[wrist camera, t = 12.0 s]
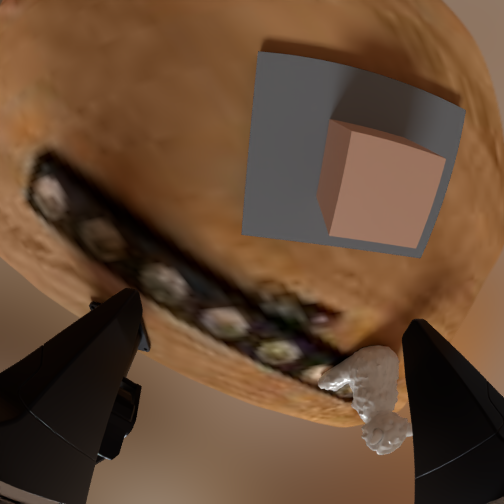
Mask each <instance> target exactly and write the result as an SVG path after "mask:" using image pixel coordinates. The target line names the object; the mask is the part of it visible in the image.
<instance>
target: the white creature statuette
mask: <svg viewBox="0 0 504 504" xmlns="http://www.w3.org/2000/svg"><path fill="white" fill-rule="evenodd" d="M398 370H399V360H398V357H397V355H396V353H395V352H394V351H393V350H391V349H390V347H386V346H381V345H376V346H368V347H364V348H361V349H360V350H359V351H357V352H354V354H353V355H352V356H350V357H348V358H346V359H345V360H344V361H342V362H341V363H339V364H338V365H336V366H335V367H333V368H331V369H330V370H328V371H326V372H325V373H323V375H322V376H321V377H320V378H319V380H318V386H319V387H320V388H321V389H324V388H325V389H326V390H333V391H337V390H338V389H339V388H341V387H343V386H344V385H345V384H347V383H349V385H350V387H351V389H352V391H353V394H354V395H353V398H354V400H353V402H352V404H351V406H352V407H353V408H354V409H356V410H357V411H358V413H359V415H360V417H361V419H363V421H364V422H365V425H364V426H363V427H362V431H363V435H362V438H363V439H365V441H366V445H367V446H369V448H370V449H371V450H373V451H376V452H377V454H379V455H384V454H389V453H391V452H393V451H394V450H395V449H396V448H399V447H400V446H401V444H402V442H403V441H404V440H405V438H406V437H408V436H413V433H412V423H408V422H407V418H402V417H400V416H399V415H398V414H397V413H395V412H392V410H394V406H395V403H396V402H397V396H398V391H397V390H396V389H397V379H398V378H399V377H398V375H399V371H398Z"/></svg>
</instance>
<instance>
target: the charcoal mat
mask: <svg viewBox="0 0 504 504" xmlns="http://www.w3.org/2000/svg"><path fill="white" fill-rule="evenodd" d="M465 112H466V110H464V109H462V108H460V107H458V106H457V105H455V104H452V103H450V102H448V101H446V100H444V99H442V98H440V97H438V96H435V95H433V94H431V93H428V92H426V91H424V90H421V89H419V88H416V87H414V86H411V85H409V84H406V83H403V82H400V81H398V80H395V79H392V78H389V77H386V76H383V75H379V74H376V73H373V72H369V71H366V70H362V69H359V68H355V67H351V66H347V65H343V64H338V63H334V62H329V61H324V60H319V59H314V58H308V57H302V56H295V55H288V54H280V53H270V52H259V51H258V58H257V68H256V78H255V88H254V98H253V109H252V119H251V130H250V141H249V152H248V163H247V175H246V186H245V198H244V210H243V222H242V235H248V236H257V237H265V238H273V239H282V240H290V241H298V242H305V243H313V244H321V245H329V246H336V247H344V248H351V249H359V250H366V251H373V252H380V253H387V254H394V255H401V256H408V257H415V258H421V256H422V254H423V252H424V249H425V247H426V245H427V242H428V240H429V237H430V235H431V232H432V230H433V227H434V225H435V222H436V219H437V217H438V214H439V211H440V208H441V205H442V202H443V199H444V196H445V193H446V190H447V187H448V184H449V181H450V177H451V174H452V170H453V167H454V163H455V159H456V155H457V151H458V147H459V142H460V138H461V133H462V128H463V123H464V118H465ZM329 119H332V120H337V121H342V122H347V123H351V124H355V125H360V126H364V127H368V128H372V129H376V130H379V131H383V132H387V133H390V134H394V135H397V136H400V137H404V138H406V139H408V140H410V141H412V142H415V143H417V144H419V145H421V146H423V147H425V148H427V149H429V150H431V151H432V152H434V153H436V154H438V155H440V156H442V157H444V158H445V159H446V161H445V165H444V169H443V172H442V176H441V179H440V183H439V186H438V189H437V193H436V196H435V199H434V202H433V205H432V208H431V211H430V214H429V216H428V219H427V222H426V225H425V227H424V230H423V232H422V235H421V238H420V240H419V243H418V245H417V247H416V249H415V248H409V247H403V246H396V245H390V244H383V243H377V242H370V241H363V240H356V239H349V238H342V237H335V236H329V234H328V231H327V228H326V225H325V221H324V218H323V215H322V212H321V209H320V206H319V203H318V200H317V197H316V194H317V189H318V184H319V179H320V173H321V168H322V162H323V156H324V150H325V144H326V138H327V132H328V126H329Z"/></svg>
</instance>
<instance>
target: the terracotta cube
mask: <svg viewBox="0 0 504 504" xmlns="http://www.w3.org/2000/svg"><path fill="white" fill-rule="evenodd" d="M445 161H446V159H445V158H444V157H442V156H440V155H438V154H436V153H434V152H432V151H431V150H429V149H427V148H425V147H423V146H421V145H419V144H417V143H415V142H412V141H410V140H408V139H406V138H404V137H400V136H397V135H394V134H390V133H387V132H383V131H379V130H376V129H372V128H368V127H364V126H360V125H355V124H351V123H347V122H342V121H337V120H332V119H329V126H328V132H327V138H326V144H325V150H324V156H323V162H322V168H321V173H320V179H319V184H318V189H317V194H316V197H317V200H318V203H319V206H320V209H321V212H322V215H323V218H324V221H325V225H326V228H327V231H328V234H329V236H335V237H342V238H349V239H356V240H363V241H370V242H377V243H383V244H390V245H396V246H403V247H409V248H415V249H416V247H417V245H418V243H419V240H420V238H421V235H422V232H423V230H424V227H425V225H426V222H427V219H428V216H429V214H430V211H431V208H432V205H433V202H434V199H435V196H436V193H437V189H438V186H439V183H440V179H441V176H442V172H443V169H444V165H445Z"/></svg>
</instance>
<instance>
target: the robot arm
mask: <svg viewBox="0 0 504 504" xmlns="http://www.w3.org/2000/svg"><path fill="white" fill-rule="evenodd" d="M89 307H90V309H91V311H90V312H89V313H87V314H86V315H84V316H83V317H81V318H80V319H79V320H77V321H76V322H74V323H73V324H71V325H70V326H68V327H67V328H66V329H64V330H63V331H61V332H60V333H59V334H57V335H56V336H54V337H53V338H52V339H50V340H49V341H47V342H46V343H45V344H44V346H43V345H42V346H40V347H39V348H37V349H36V350H35V351H33V352H32V353H30V354H29V355H28V356H26V357H25V358H23V359H22V360H20V361H19V362H17V363H16V364H14V365H12V366H11V367H9V368H8V369H6V370H4V371H3V372H1V373H0V504H86V500H87V496H88V491H89V487H90V483H91V479H92V475H93V471H94V467H95V465H96V464H98V463H99V462H101V461H103V460H104V459H106V458H107V459H109V460H112V459H114V458H115V457H116V456H117V455H118V454H119V453H120V449H121V446H122V442H123V439H124V437H126V436H127V435H128V434H129V433H130V432H131V430H132V428H133V426H134V424H135V421H136V417H137V411H138V405H139V399H140V393H141V386H140V385H139V384H136V383H134V382H132V381H131V380H129V379H127V378H126V376H127V374H128V371H129V369H130V367H131V364H132V362H133V359H134V357H135V355H136V352H137V350H142V351H146V352H149V351H150V345H149V341H148V338H147V335H146V331H145V328H144V324H143V321H142V312H143V309H142V304H141V300H140V295H139V292H138V291H137V290H135V289H130V288H125V289H123V290H122V291H120V292H119V293H117V294H116V295H114V296H113V297H111V298H110V299H108V300H107V301H105V302H104V303H102V304H100V303H96V302H91V303H90V305H89ZM402 346H403V356H404V367H405V379H406V386H407V392H408V399H409V406H410V413H411V423H412V433H413V446H414V463H415V502H414V504H504V397H503V396H502V395H501V394H500V393H498V391H497V390H496V389H495V388H494V387H493V386H492V385H491V384H490V383H489V382H488V381H487V380H486V379H485V378H484V377H483V376H482V375H481V374H480V372H478V371H477V369H475V368H474V366H473V365H472V364H470V362H469V361H467V359H465V357H464V356H463V355H462V354H461V353H459V352H458V351H457V350H456V349H455V348H454V347H453V346H452V345H451V344H450V343H449V342H448V341H447V340H446V339H445V338H444V337H443V336H442V335H441V334H440V333H439V332H438V331H436V330H435V329H434V328H433V327H432V326H431V325H430V324H429V323H428V322H427V321H426V320H424V319H414V320H412V322H411V323H410V325H409V326H408V328H407V329H406V331H405V333H404V334H403V337H402Z"/></svg>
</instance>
